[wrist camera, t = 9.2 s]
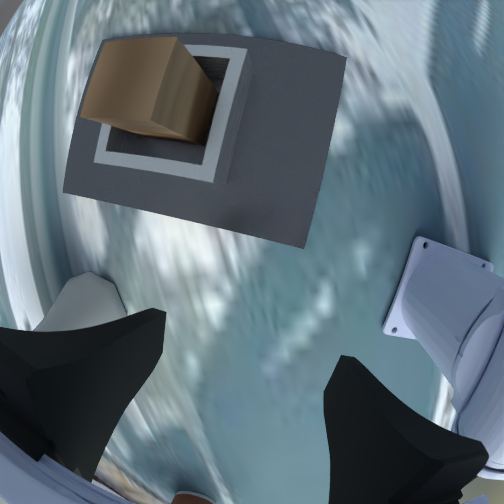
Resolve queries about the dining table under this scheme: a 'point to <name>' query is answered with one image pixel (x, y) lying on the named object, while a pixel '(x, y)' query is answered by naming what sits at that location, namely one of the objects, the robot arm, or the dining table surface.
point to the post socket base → (226, 142)
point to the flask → (83, 305)
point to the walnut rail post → (151, 90)
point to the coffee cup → (191, 498)
